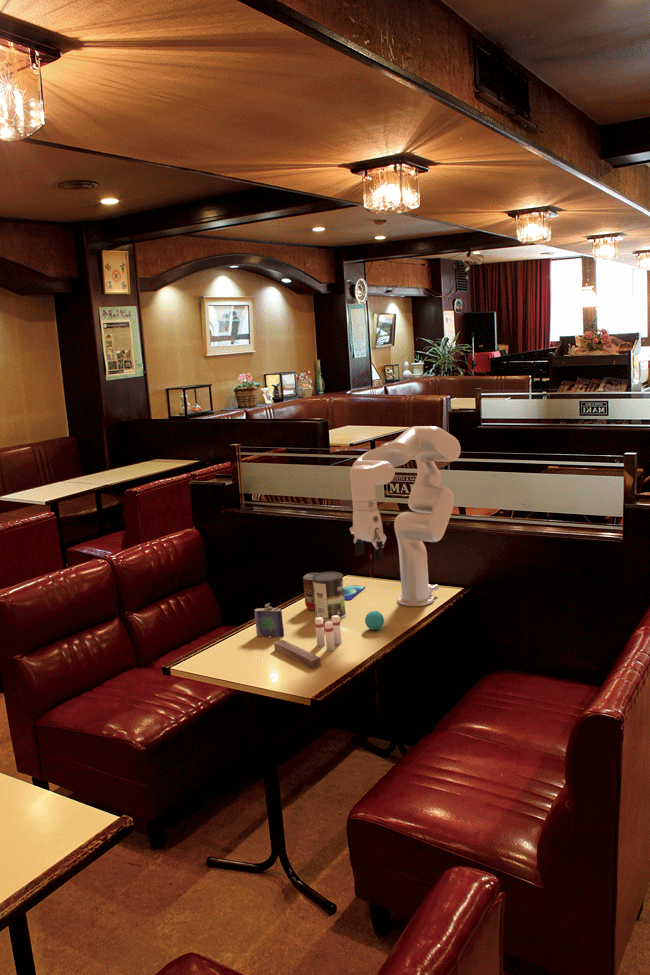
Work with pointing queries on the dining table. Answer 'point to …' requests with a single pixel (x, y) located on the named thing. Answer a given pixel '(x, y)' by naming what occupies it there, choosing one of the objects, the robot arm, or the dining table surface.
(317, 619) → the back pin right
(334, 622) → the front pin
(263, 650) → the dining table surface
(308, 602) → the soda can
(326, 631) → the back pin left
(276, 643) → the back wall
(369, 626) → the ball
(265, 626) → the flask
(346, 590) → the smartphone
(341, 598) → the coffee can
